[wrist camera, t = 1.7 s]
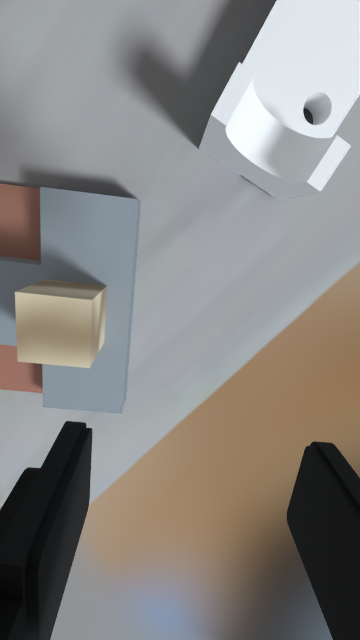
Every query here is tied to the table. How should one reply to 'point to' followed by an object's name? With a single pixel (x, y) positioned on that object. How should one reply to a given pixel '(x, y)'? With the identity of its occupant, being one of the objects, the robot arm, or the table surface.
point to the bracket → (290, 98)
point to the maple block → (60, 323)
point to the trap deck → (71, 266)
